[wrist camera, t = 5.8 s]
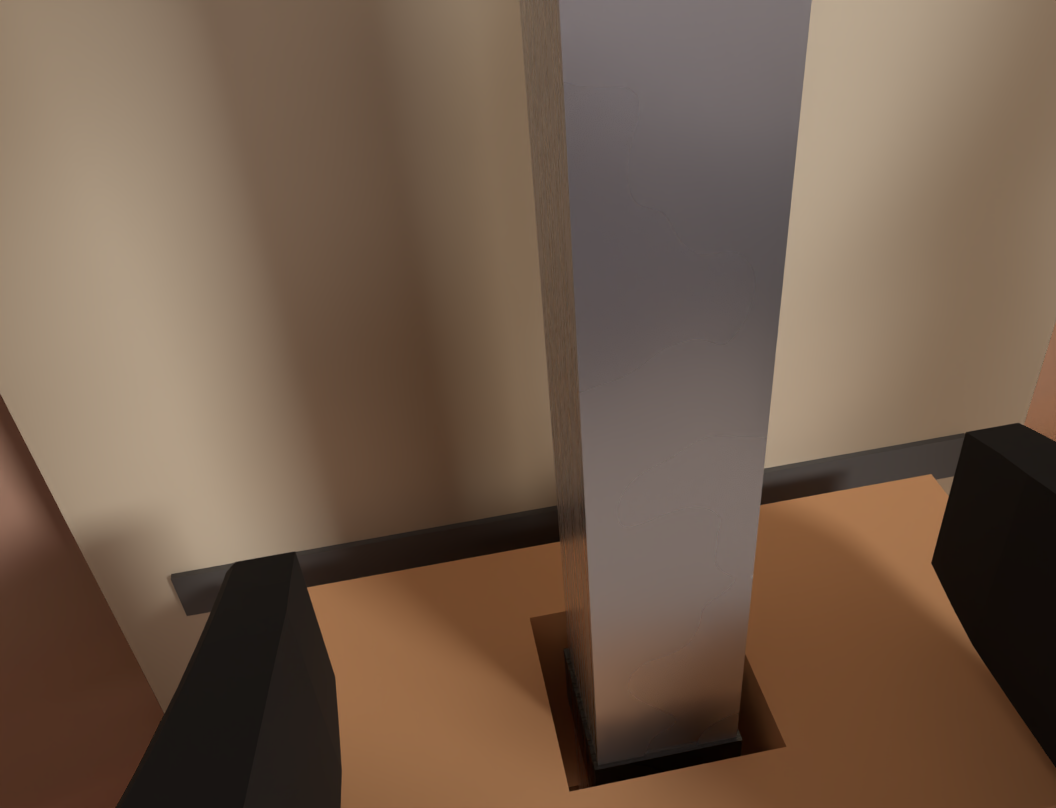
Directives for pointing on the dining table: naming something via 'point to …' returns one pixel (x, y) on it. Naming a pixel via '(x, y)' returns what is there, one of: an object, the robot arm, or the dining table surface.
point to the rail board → (456, 277)
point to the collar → (767, 687)
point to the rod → (660, 348)
